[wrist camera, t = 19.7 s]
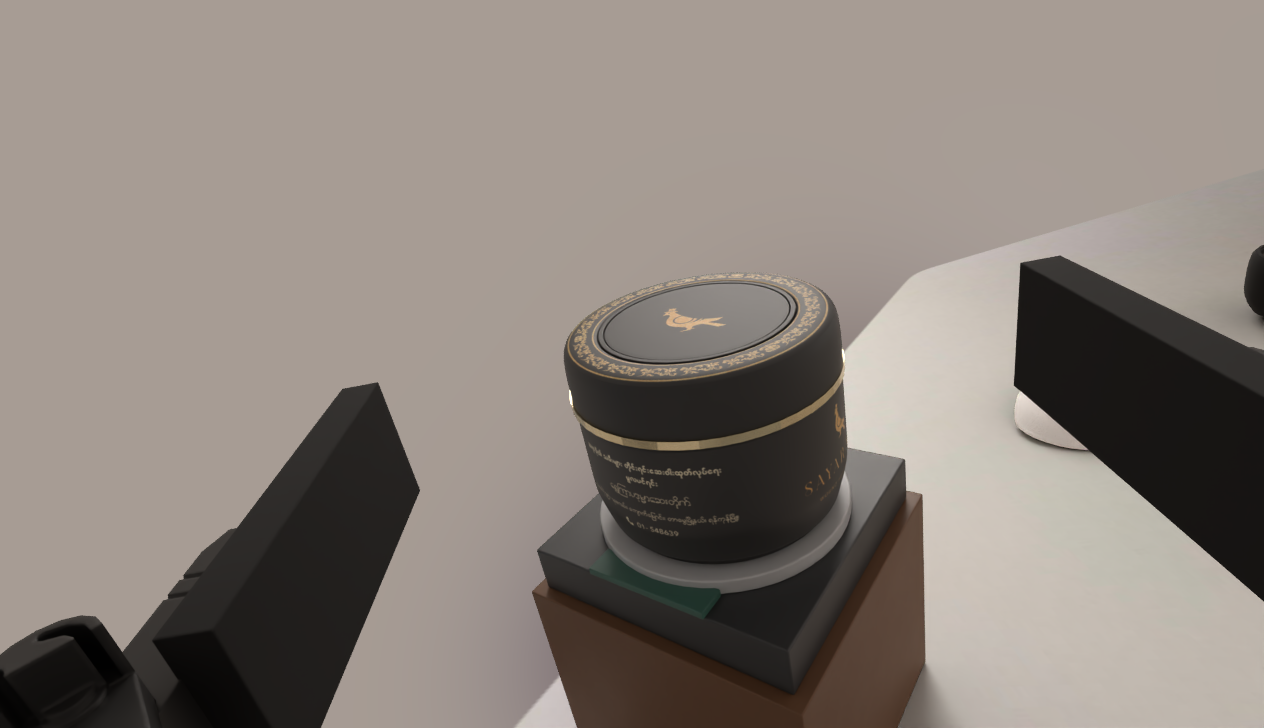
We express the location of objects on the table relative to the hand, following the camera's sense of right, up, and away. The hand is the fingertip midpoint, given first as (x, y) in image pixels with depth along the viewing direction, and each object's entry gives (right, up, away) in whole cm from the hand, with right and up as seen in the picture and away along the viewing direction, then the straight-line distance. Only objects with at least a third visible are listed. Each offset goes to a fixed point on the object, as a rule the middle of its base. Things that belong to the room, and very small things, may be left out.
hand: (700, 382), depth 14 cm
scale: (+5, -16, +19) cm, 25 cm away
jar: (+2, -5, +14) cm, 15 cm away
